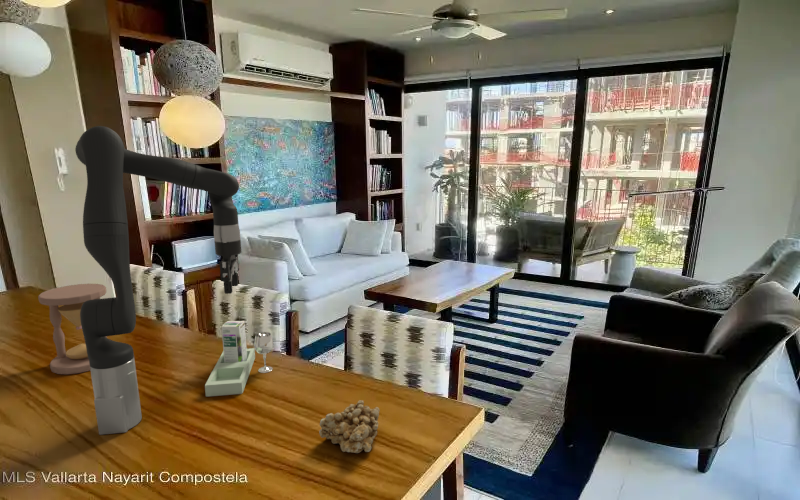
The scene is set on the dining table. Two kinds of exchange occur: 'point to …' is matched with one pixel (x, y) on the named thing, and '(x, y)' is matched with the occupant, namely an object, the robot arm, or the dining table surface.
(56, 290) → the hourglass
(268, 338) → the wineglass
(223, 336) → the syrup box
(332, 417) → the mineral formation
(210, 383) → the tray
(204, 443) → the dining table surface
